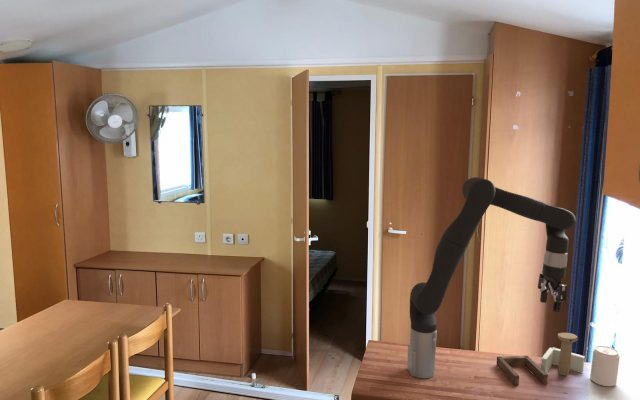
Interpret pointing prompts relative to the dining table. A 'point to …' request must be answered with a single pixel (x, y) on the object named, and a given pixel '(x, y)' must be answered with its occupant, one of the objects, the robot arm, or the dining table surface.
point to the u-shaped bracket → (515, 361)
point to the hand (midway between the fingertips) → (549, 306)
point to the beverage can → (604, 366)
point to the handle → (565, 352)
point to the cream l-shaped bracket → (553, 358)
